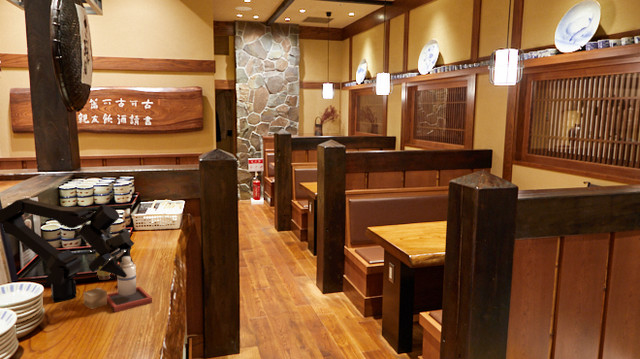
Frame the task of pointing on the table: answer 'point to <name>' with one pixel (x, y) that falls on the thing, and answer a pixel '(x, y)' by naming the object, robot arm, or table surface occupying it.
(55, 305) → the table surface
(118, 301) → the lacquer tray
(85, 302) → the wooden masu box
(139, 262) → the table surface
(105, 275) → the sauce bottle
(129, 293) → the white sake bottle
